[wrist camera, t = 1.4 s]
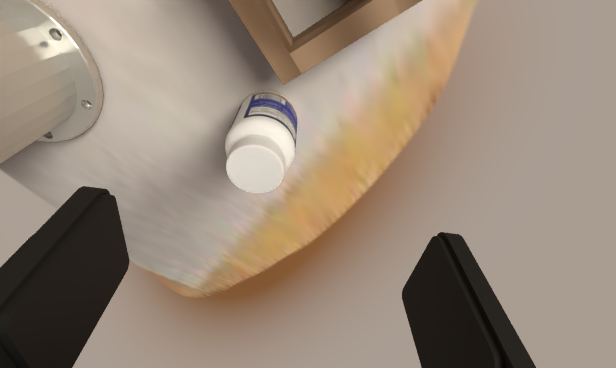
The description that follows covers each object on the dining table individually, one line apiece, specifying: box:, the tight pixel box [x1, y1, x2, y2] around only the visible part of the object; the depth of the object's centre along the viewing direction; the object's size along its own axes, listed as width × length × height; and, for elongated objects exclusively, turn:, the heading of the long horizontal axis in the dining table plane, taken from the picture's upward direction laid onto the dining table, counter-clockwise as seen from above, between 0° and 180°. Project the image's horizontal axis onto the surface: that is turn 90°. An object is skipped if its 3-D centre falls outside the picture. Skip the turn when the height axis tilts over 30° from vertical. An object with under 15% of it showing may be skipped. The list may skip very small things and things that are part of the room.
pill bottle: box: [225, 91, 297, 194], centre depth 25 cm, size 5×5×9 cm
